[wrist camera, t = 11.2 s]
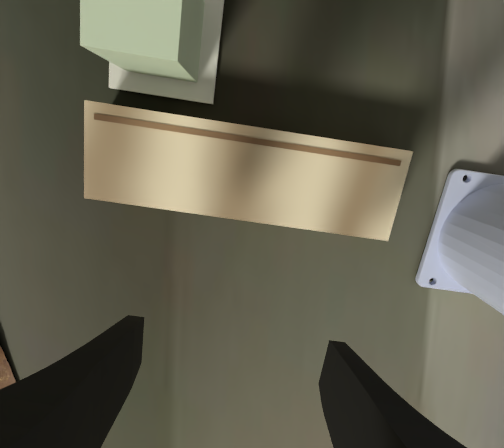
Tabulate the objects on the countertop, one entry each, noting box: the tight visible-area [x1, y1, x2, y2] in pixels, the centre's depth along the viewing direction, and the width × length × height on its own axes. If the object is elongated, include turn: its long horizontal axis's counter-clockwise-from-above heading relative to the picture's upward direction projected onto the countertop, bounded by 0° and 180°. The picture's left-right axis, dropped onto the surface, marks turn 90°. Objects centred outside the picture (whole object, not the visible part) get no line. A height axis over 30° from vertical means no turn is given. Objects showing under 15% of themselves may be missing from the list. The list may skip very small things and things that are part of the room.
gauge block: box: [80, 0, 205, 83], centre depth 15 cm, size 4×4×5 cm
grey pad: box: [109, 0, 224, 104], centre depth 17 cm, size 6×6×1 cm
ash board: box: [84, 100, 413, 241], centre depth 18 cm, size 17×5×3 cm, turn 82°
